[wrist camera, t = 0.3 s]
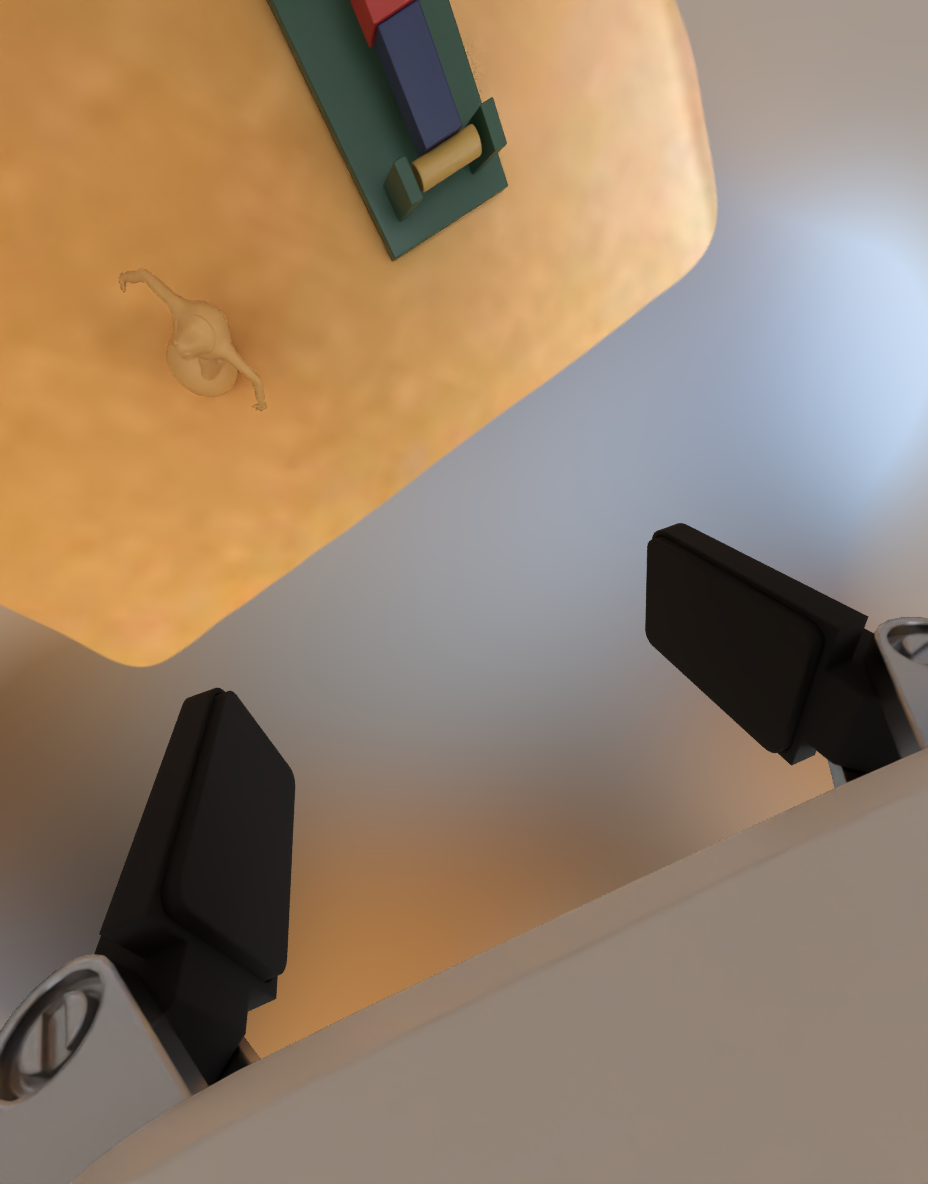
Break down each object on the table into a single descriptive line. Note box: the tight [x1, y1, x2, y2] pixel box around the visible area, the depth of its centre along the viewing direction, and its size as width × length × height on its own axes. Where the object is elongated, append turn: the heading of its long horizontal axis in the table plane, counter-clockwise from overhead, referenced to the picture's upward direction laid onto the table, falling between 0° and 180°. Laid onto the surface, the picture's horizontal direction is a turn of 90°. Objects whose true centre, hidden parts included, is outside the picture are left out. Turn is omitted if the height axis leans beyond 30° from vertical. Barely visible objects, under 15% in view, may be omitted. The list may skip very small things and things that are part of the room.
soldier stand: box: [267, 0, 508, 261], centre depth 23 cm, size 18×9×6 cm, turn 27°
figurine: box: [119, 268, 267, 411], centre depth 25 cm, size 8×6×12 cm
